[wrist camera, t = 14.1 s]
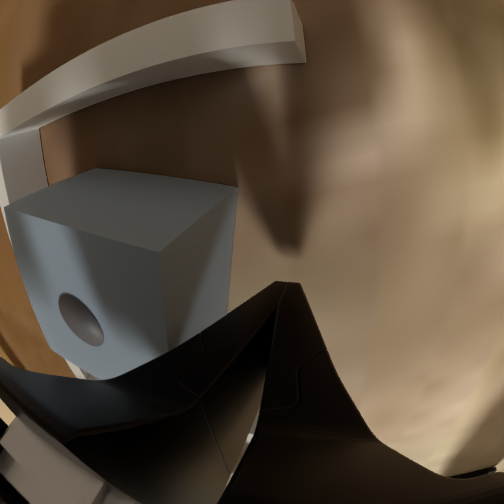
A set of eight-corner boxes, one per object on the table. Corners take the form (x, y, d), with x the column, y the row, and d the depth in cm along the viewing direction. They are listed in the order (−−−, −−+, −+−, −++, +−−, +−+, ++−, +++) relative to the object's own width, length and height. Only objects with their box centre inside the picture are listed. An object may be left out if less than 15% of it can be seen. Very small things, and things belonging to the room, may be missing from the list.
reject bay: (302, 26, 6) (289, -7, 4) (301, 410, 13) (292, 450, 11) (25, 112, 10) (-14, 121, 7) (101, 360, 17) (81, 384, 14)
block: (238, 187, 9) (157, 253, 5) (225, 330, 12) (179, 418, 8) (95, 168, 10) (2, 207, 6) (111, 290, 13) (50, 349, 9)
